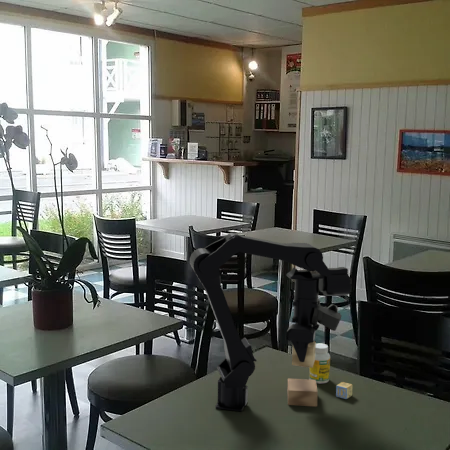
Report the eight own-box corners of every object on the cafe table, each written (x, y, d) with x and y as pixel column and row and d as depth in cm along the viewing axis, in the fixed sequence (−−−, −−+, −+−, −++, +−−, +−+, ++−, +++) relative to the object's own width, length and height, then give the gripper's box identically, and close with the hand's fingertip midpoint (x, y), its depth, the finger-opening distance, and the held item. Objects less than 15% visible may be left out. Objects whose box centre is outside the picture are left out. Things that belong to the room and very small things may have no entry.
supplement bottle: (319, 374, 159) (321, 340, 157) (333, 381, 154) (335, 346, 153) (304, 378, 156) (306, 344, 154) (318, 385, 151) (320, 350, 150)
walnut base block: (287, 405, 140) (288, 390, 140) (287, 393, 147) (287, 378, 146) (316, 407, 140) (317, 391, 139) (315, 394, 146) (315, 379, 146)
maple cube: (291, 365, 140) (292, 345, 139) (294, 357, 145) (295, 338, 144) (312, 367, 139) (313, 347, 138) (314, 360, 143) (315, 340, 143)
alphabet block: (335, 396, 145) (336, 385, 145) (341, 392, 148) (341, 381, 147) (346, 400, 143) (347, 388, 143) (352, 395, 146) (352, 384, 145)
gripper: (337, 310, 128) (333, 376, 130) (342, 289, 146) (339, 348, 148) (287, 305, 131) (284, 370, 133) (298, 285, 149) (296, 343, 151)
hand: (303, 357), depth 141 cm, fingers closed on maple cube, 5 cm apart
